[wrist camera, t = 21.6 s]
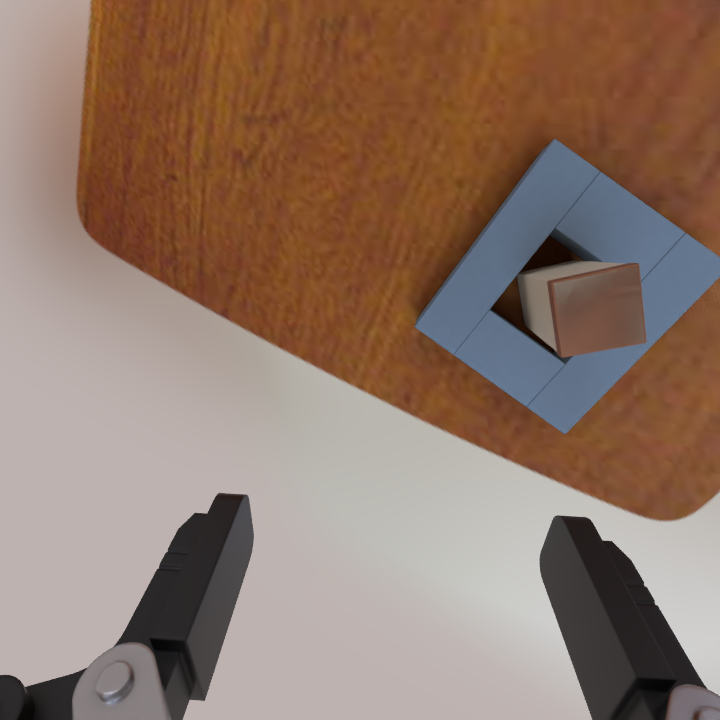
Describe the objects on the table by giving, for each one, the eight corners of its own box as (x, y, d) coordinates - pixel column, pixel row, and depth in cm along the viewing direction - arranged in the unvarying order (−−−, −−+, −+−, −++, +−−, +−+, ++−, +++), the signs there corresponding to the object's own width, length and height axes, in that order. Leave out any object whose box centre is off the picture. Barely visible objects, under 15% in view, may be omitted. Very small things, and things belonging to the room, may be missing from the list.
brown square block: (523, 326, 28) (561, 358, 20) (515, 272, 28) (550, 282, 19) (581, 314, 27) (647, 343, 19) (574, 259, 27) (640, 262, 18)
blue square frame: (552, 417, 30) (565, 434, 27) (416, 319, 29) (414, 327, 27) (698, 263, 26) (731, 265, 23) (541, 150, 26) (554, 137, 23)
